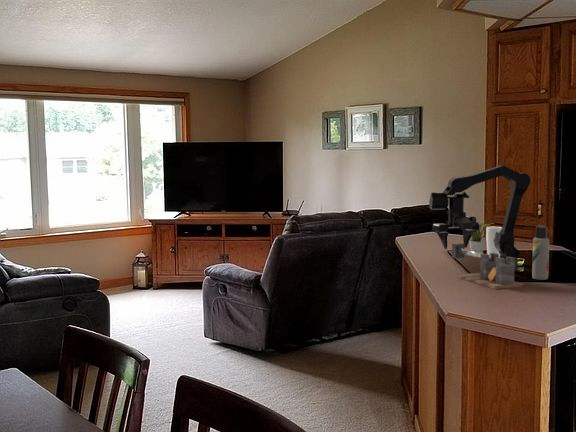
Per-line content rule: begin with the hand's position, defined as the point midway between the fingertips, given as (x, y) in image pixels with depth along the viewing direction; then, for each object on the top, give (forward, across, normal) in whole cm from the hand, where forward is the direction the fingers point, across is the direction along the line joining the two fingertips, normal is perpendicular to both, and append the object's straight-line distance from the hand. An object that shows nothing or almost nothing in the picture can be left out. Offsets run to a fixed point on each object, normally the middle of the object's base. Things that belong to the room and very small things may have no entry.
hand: (455, 248), depth 259 cm
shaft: (+4, 0, -11) cm, 12 cm away
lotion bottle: (+10, +21, -24) cm, 33 cm away
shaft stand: (+9, 0, -22) cm, 24 cm away
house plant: (+10, +35, +33) cm, 49 cm away
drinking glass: (+10, +28, +13) cm, 32 cm away
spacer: (+8, 0, -25) cm, 26 cm away
